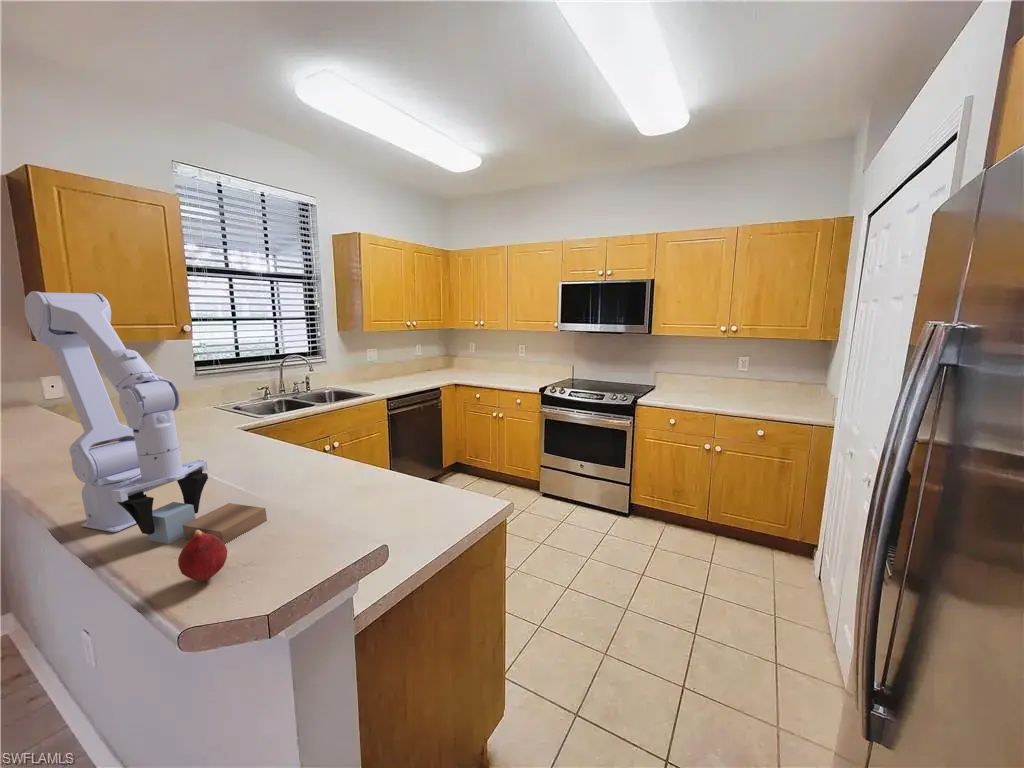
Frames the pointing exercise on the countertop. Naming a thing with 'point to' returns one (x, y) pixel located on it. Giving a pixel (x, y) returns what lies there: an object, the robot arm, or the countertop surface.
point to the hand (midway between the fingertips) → (171, 522)
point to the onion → (202, 556)
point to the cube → (171, 522)
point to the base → (227, 522)
